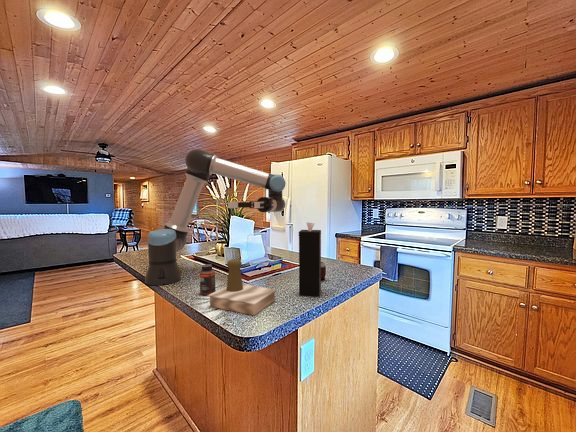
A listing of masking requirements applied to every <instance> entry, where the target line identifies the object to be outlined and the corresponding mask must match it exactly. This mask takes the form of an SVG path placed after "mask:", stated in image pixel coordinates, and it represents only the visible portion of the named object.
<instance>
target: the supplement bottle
mask: <svg viewBox="0 0 576 432" xmlns="http://www.w3.org/2000/svg"><path fill="white" fill-rule="evenodd" d="M216 291H217V290H216V271H215V270H214V269H213V265H212V263H211V264H210V263H207V264H202V265H201V270H200V271H199V294H200V295H202V296H208V295H209V294H211V293H214V292H216Z"/></svg>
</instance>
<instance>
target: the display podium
mask: <svg viewBox="0 0 576 432" xmlns="http://www.w3.org/2000/svg"><path fill="white" fill-rule="evenodd" d="M276 292H277V289H275V288H269V287H264V286H263V287H262V286H254V285H248V284H243V290H241V291H237V292H230V291H227V286H224V287H222V288H220V289H218V290H215V292H214V293H211V294H209V295H207V297H209V306H210V307H212V308H217V309H221V310H227V311H231V312H235V313H240V314H241V313H242V314H245V315H251V316H255V315H257V314H259V312H261V311H262V310H264V309H266V307H268V306H269V305H271V304H272V303H273V302H275V301H276Z"/></svg>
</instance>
